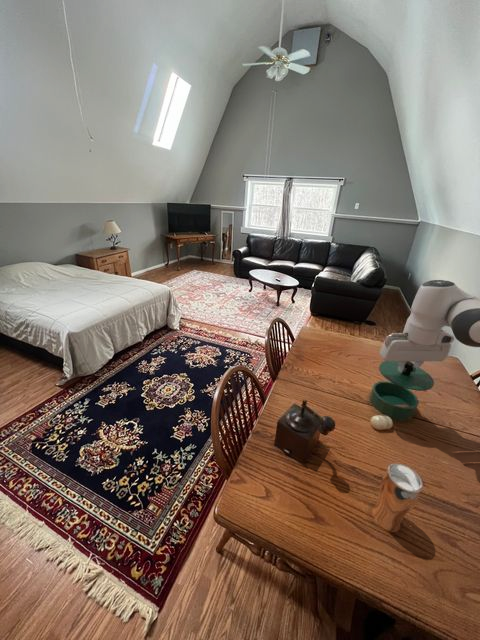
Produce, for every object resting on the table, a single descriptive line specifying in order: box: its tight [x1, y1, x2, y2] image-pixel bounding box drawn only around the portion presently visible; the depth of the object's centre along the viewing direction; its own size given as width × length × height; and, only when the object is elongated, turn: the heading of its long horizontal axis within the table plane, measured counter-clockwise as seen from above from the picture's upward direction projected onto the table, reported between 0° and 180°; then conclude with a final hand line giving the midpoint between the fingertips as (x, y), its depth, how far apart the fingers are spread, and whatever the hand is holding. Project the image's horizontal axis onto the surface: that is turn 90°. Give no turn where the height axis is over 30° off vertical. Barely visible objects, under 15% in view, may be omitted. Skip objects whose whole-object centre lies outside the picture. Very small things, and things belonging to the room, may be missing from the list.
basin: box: [369, 380, 420, 421], centre depth 97 cm, size 15×15×6 cm
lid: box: [378, 360, 435, 392], centre depth 86 cm, size 16×16×5 cm
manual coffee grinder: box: [273, 399, 336, 464], centre depth 76 cm, size 16×11×18 cm
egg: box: [369, 414, 394, 431], centre depth 88 cm, size 7×4×4 cm, turn 94°
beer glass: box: [371, 462, 424, 533], centre depth 60 cm, size 7×7×15 cm
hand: (406, 371), depth 86 cm, fingers closed on lid, 2 cm apart
